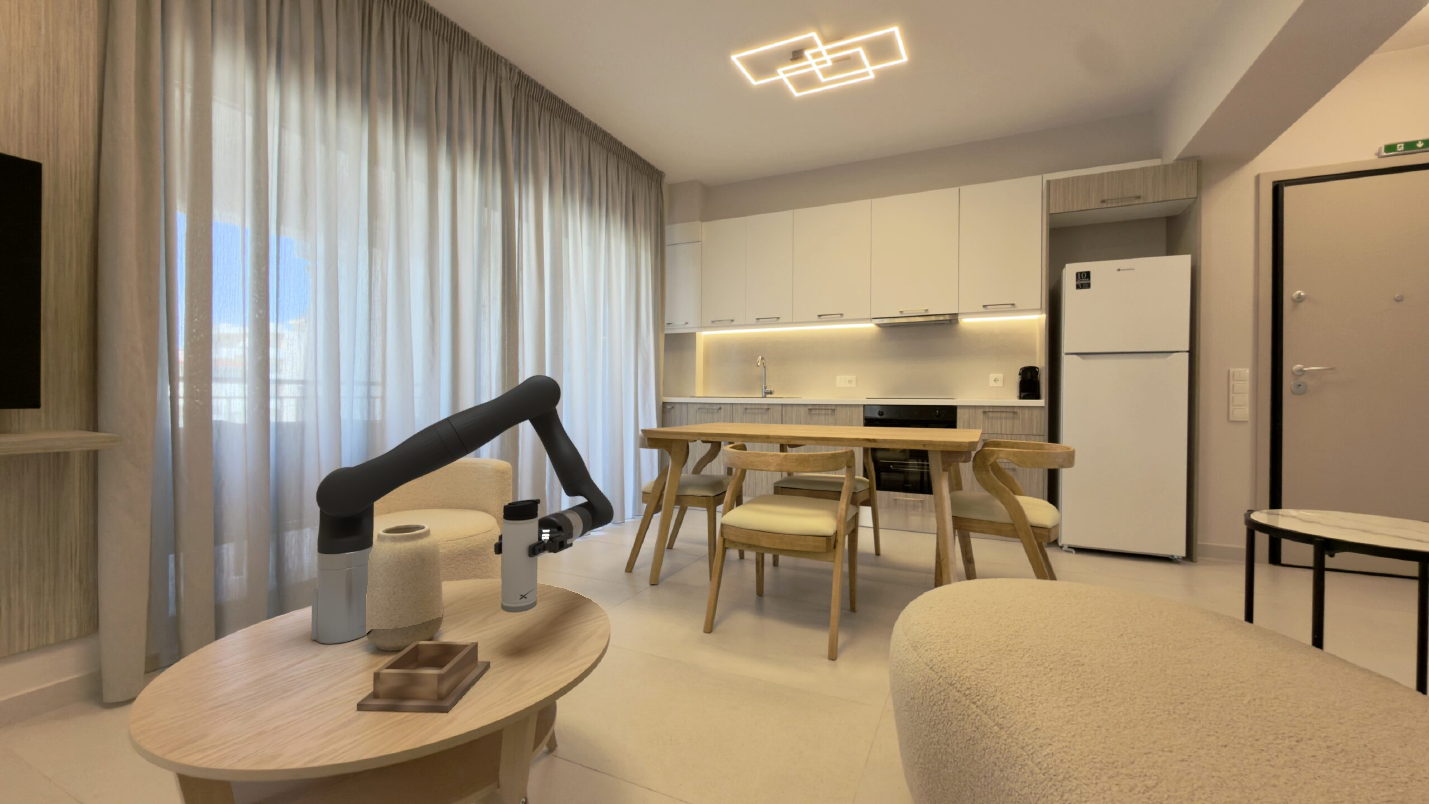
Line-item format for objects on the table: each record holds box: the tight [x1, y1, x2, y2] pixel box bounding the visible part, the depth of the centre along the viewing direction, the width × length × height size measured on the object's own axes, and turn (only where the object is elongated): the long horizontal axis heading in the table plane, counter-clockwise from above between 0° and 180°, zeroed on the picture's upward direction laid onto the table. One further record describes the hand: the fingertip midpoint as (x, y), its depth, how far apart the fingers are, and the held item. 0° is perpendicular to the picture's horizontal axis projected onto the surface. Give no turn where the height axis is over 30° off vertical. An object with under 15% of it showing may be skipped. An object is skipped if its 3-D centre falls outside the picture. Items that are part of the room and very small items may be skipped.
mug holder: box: [356, 640, 491, 713], centre depth 88 cm, size 14×14×5 cm
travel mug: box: [500, 498, 541, 614], centre depth 100 cm, size 6×7×20 cm
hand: (513, 550), depth 98 cm, fingers closed on travel mug, 6 cm apart
